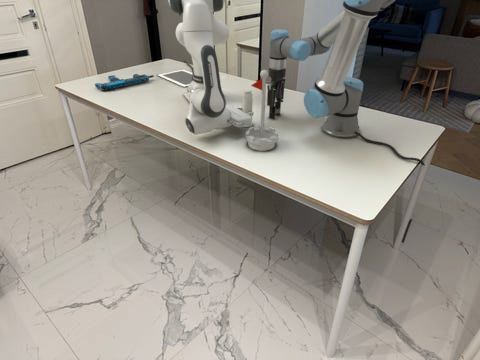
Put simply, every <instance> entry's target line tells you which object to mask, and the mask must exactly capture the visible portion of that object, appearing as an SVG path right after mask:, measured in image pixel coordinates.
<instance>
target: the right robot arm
mask: <svg viewBox="0 0 480 360" xmlns="http://www.w3.org/2000/svg"><path fill="white" fill-rule="evenodd" d="M394 2H396V0H343V1H342V8H343V11H342V12H340V13H339V14H338V15H337V16H335V17H334V18H333V19H332V20H331V21H330V22H329V23H327V24H326V25H325V26H324V27H323V28H321V29H320V30H319V31H318V32H317V33H316V34H314V35H311V36H307V37H301V38H292V37H290V35H289V30H286V29H273V30H272V31H271V32H270V38H269V60H268V61H269V62H268V63H269V65H268V67H269V68H268V77H269V78H270V84H267V85H266V89H267V94H266V95H267V96H266V98H267V99H266V106H267V107H269V109H268V119H271V120H275V118H276V116H281V111H280V112H279V113H278V114H275V106H278V107H280V109H281V108H282V107H281V106H282V103H284V98H285V97H284V96H285V83H286V75H287V74H286V73H287V69H286V68H287V59H288V58H289V59H292V60H294V61H299V62H302V61H306V60H307V59H309V57H312V56H317V55H318V56H319V55H323V54H326V53H328V52H329V51H330V52H329V54H328V57H327V60H326V63H325V65H324V69H323V71H322V74H321V75H320V76H318V77H317V78H316V79H315V81H314V84H313V88H309V89H308V90H307V91H305V93H304V95H303V105H304V109H305V111H306V112H307V114H308V115H309V116H311V117H312V118H315V119H322V118H323V121H324V123H323V126H322V130H323V132H324V133H325V134H326V135H329V136H332V137H335V138H339V139H341V138H342V139H349V138H354V137H356V136H358V137H360V138H361V139H362V140H363V141H365V142H367V143H372V144H376V145H381V146H385V147H388V148H390V149H391V150H392V151H393V153H394V154H395V155H396V157H398V158H401V159H403V160H407V161H416V162H418V163H419V164H420V165H421V166H426V164H425V163H424V161H423V160H422V159H420V158H417V157H410V156H409V157H408V156H404V155H402V154H401V153H400V152H398V151H397V149H396V148H395V147H394V146H393V145H391V144H390V143H387V142H382V141H377V140H372V139H369V138H366V137H364V136H363V135H362V134H361V133H359V132H360V125H359V118H358V117H359V116H358V114H359V111H360V110H359V109H360V105H361V100H362V95H363V92H364V82H363V81H362V79H359V78H355V77H352V76H348V74H349V71H350V70H351V69H350V68H351V67H352V64H353V62H354V59H355V58H356V55H357V52H358V50H359V47H360V45H361V43H362V40H363V38H364V36H365V34H366V31H367V28H368V26H369V24H370V22H371V20H372V19H373V18H375V17H377V16H378V14H379V12H381V11H384V10H385V9H386V8H387V7H389V6H390V5H391V4H393V3H394ZM412 222H413V218H411V219H409V220H408V222H407V225H406V228H405V230H404V233H403V236H402V239H401V243H402V244H404V243H405V241H406V237H407V235H408V232H409V229H410V226H411V224H412Z"/></svg>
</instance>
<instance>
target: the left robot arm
mask: <svg viewBox="0 0 480 360" xmlns="http://www.w3.org/2000/svg"><path fill="white" fill-rule="evenodd" d="M225 1H226V0H167V2H168V4H169V6H170V9H171V11H173V12H174V13H176V14H178V16H180V17H181V16H182V22H179V23H178V24H177V26H176V28H175V37H176V40H177V41H178V43H179V44H180V45H181V46H183V47H184V48H185V50H186V51H187V52H188V54H189V55H190V57H191V61H192V66H193V67H192V66H191V64H189V63H188V62H187V60H184V61H183V62H184V63H185V64H186V65H187V66H189V67H190V69H191V73H193V74H192V82H191V83H190V84H189V85H188V86H187V87H186V92H185V93H183V96H184V97H185V98H186V100H187V101H188V112H187V114H186V116H185V119H184V120H185V126H186V128H187V129H188V131H189V132H190V133H191V134H193V135H202V134H207V133H211V132H212V131H215V130H217V131H218V130H223V129H226V128H229V127H230V126H231V125H232V126H234V127H236V128H245V127H244V126H249V125H251V124H252V125H253V116H254V111H253V110H252V111H249V112H248V113H244V112H243V111H242V107H239V106H237V107H235V106H234V105H232V104H230V103H228V102H227V101H226V97H225V95H224V93H223V89H222V84H221V78H220V77H221V75H220V69H219V63H218V56H217V53H216V49H215V46H219V45H224V44H226V43H227V41H228V39H229V37H230V30H229V29H230V28H229V27H228V25H227V24H226V23H225V22H224V21H221V19H219V18H217V16H215V14H214V13H218V12H221V11H222V10H223V8H224V6H225ZM251 116H252V117H251Z"/></svg>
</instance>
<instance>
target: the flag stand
mask: <svg viewBox="0 0 480 360" xmlns="http://www.w3.org/2000/svg"><path fill="white" fill-rule="evenodd" d="M259 75H260V79H259V80H257V81H256V82H253V84H251V85H250V86H251V87H253V88H256V89H258V90H260V91H261V95H260V97H261V98H260V99H261V100H260V125H258V128H255V127H254V126H250V127H248V130H246V131H245V140H246V141H247V145H248V147H249V148H250V149H252V150H254V151H259V152H260V151H261V152H263V151H264V152H265V151H270V150H272V149H274V148H275V147H276V143H277V142H278V140H279V131H278V130H276V128H274V127H272V126H270V127H268V128H266V127H265V121H266V119H265V118H266V97H267V96H266V95H267V94H266V93H267V92H266V91H267V78H268V77H269V70H266V69H262V70H261V71H260V74H259Z"/></svg>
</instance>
